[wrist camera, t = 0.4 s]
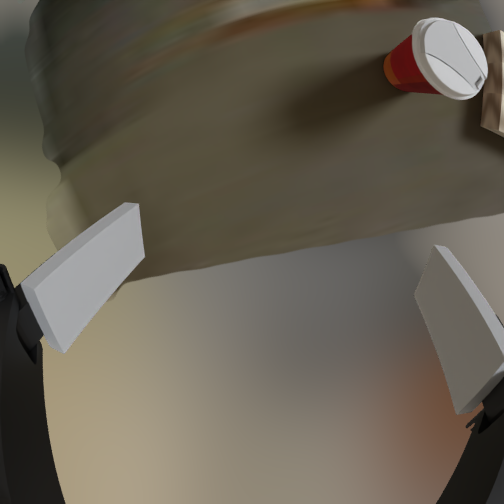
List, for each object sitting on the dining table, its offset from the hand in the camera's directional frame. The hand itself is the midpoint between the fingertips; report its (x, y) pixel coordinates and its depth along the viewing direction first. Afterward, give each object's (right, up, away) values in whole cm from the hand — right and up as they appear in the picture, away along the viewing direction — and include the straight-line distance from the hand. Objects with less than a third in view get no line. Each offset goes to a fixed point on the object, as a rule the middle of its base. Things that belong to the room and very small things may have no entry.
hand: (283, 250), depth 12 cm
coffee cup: (+18, +24, +15) cm, 34 cm away
